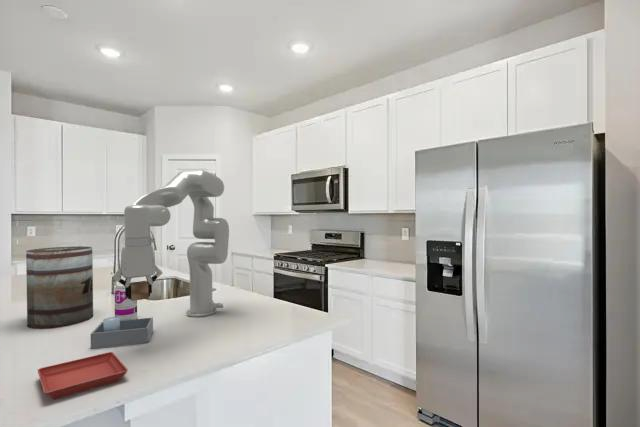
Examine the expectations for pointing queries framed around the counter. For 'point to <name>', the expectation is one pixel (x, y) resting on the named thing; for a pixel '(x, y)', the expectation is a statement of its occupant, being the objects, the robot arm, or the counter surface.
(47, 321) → the barrel
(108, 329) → the blue cylinder
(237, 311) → the counter surface
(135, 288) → the walnut cube
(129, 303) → the supplement can
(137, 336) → the tote
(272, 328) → the counter surface
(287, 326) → the counter surface
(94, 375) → the plant saucer
